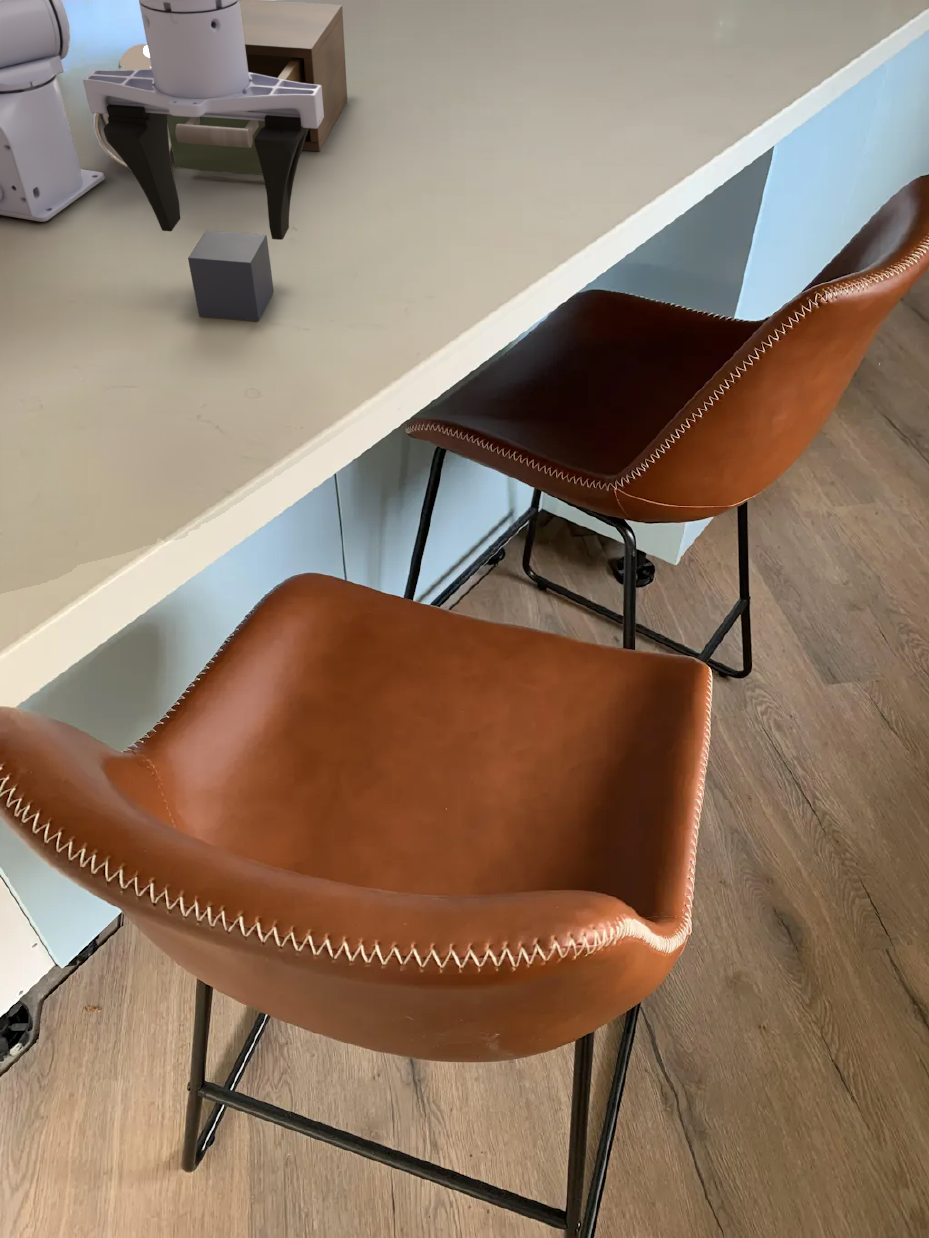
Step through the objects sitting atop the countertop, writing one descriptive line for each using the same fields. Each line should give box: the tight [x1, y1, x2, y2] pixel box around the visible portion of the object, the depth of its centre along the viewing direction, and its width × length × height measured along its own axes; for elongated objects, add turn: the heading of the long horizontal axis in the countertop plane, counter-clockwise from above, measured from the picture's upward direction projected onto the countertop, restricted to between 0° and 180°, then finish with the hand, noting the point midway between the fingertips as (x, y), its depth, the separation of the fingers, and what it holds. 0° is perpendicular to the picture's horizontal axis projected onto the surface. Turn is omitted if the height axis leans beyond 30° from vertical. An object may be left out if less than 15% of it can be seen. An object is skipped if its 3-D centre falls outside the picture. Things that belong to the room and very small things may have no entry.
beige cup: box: [93, 43, 172, 169], centre depth 87 cm, size 7×7×15 cm
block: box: [187, 229, 275, 322], centre depth 68 cm, size 4×4×4 cm
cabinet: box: [239, 0, 348, 152], centre depth 91 cm, size 14×12×9 cm
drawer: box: [167, 54, 310, 175], centre depth 84 cm, size 17×10×7 cm, turn 174°
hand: (225, 229), depth 65 cm, fingers open, 7 cm apart
